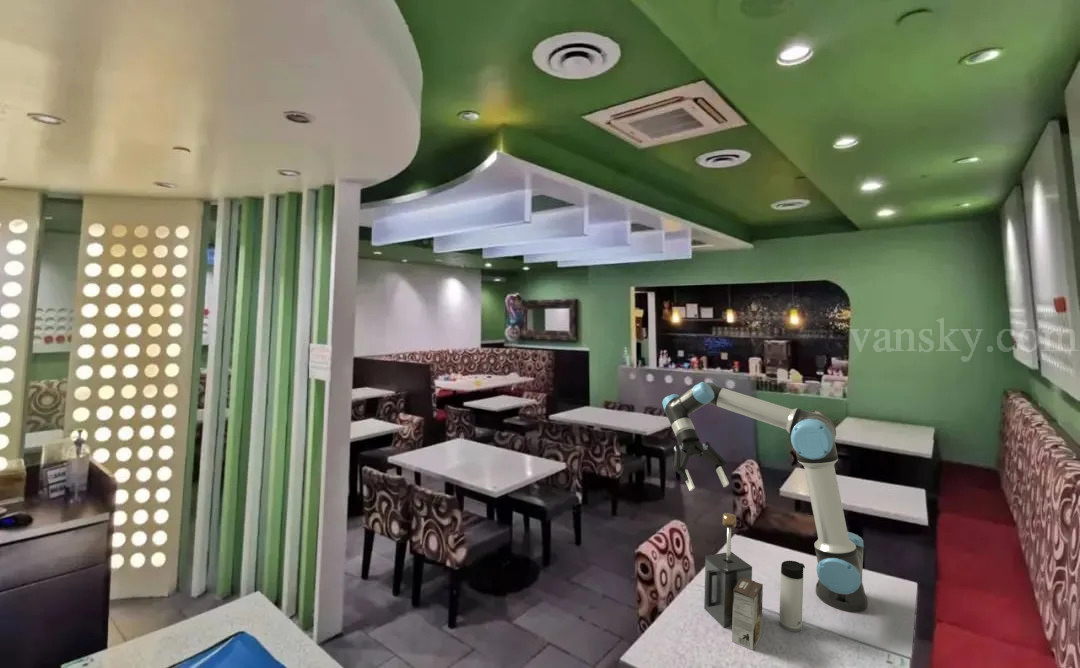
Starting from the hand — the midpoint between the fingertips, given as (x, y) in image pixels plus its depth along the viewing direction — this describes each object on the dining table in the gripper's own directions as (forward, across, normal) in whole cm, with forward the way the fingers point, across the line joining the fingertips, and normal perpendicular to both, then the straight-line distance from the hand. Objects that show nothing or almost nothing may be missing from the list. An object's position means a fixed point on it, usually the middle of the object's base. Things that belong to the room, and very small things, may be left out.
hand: (709, 487), depth 165 cm
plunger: (+28, 0, -13) cm, 31 cm away
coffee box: (+42, +1, -12) cm, 44 cm away
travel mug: (+42, -16, -13) cm, 47 cm away
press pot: (+35, +1, -20) cm, 40 cm away
